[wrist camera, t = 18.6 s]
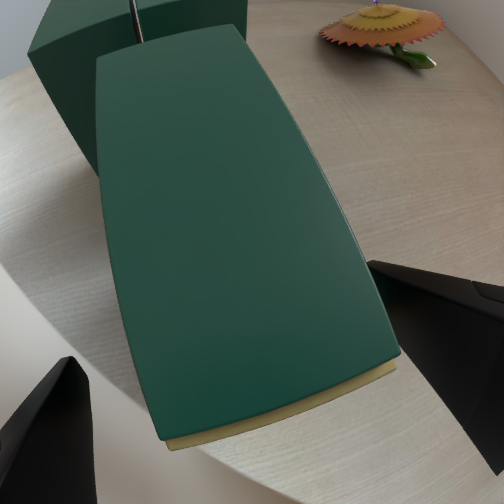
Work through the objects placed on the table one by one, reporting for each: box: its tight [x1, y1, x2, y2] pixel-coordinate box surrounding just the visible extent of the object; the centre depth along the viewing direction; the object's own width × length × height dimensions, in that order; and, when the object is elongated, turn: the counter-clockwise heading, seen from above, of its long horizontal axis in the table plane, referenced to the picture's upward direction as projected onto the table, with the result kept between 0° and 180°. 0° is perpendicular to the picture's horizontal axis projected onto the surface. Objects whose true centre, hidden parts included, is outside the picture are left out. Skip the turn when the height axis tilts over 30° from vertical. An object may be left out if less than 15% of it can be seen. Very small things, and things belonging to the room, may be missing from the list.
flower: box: [319, 0, 446, 69], centre depth 26 cm, size 15×13×8 cm
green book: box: [96, 24, 401, 451], centre depth 11 cm, size 8×4×14 cm, turn 19°
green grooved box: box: [27, 0, 248, 177], centre depth 15 cm, size 8×7×14 cm
